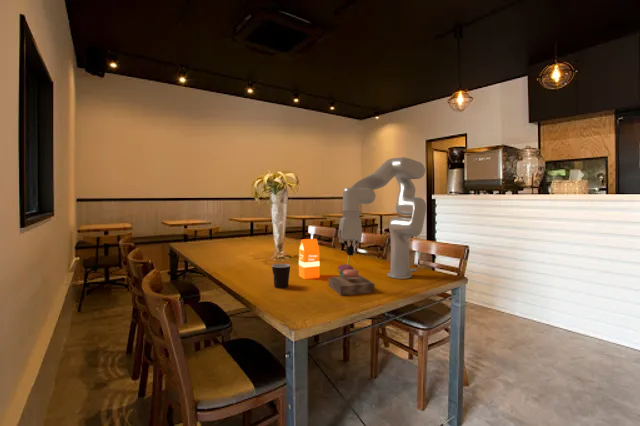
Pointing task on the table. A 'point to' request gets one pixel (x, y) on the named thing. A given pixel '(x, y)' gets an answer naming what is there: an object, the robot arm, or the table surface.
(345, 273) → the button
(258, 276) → the table surface
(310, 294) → the table surface
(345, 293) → the brown wooden tray
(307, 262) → the orange juice
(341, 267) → the cupcake
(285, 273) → the coffee mug
